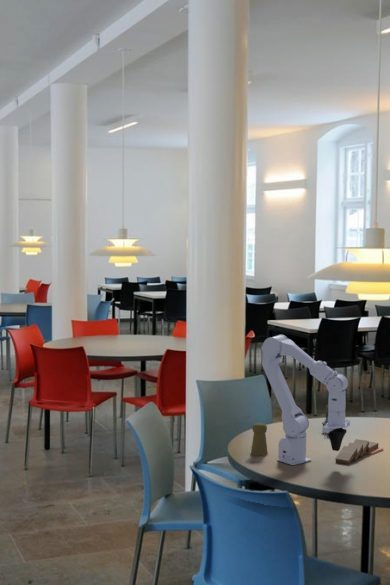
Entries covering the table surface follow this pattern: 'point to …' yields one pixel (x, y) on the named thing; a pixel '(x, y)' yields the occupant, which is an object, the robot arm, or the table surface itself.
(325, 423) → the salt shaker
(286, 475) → the table surface
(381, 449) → the tile
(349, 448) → the tile
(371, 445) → the tile
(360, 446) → the tile
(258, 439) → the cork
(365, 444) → the tile
